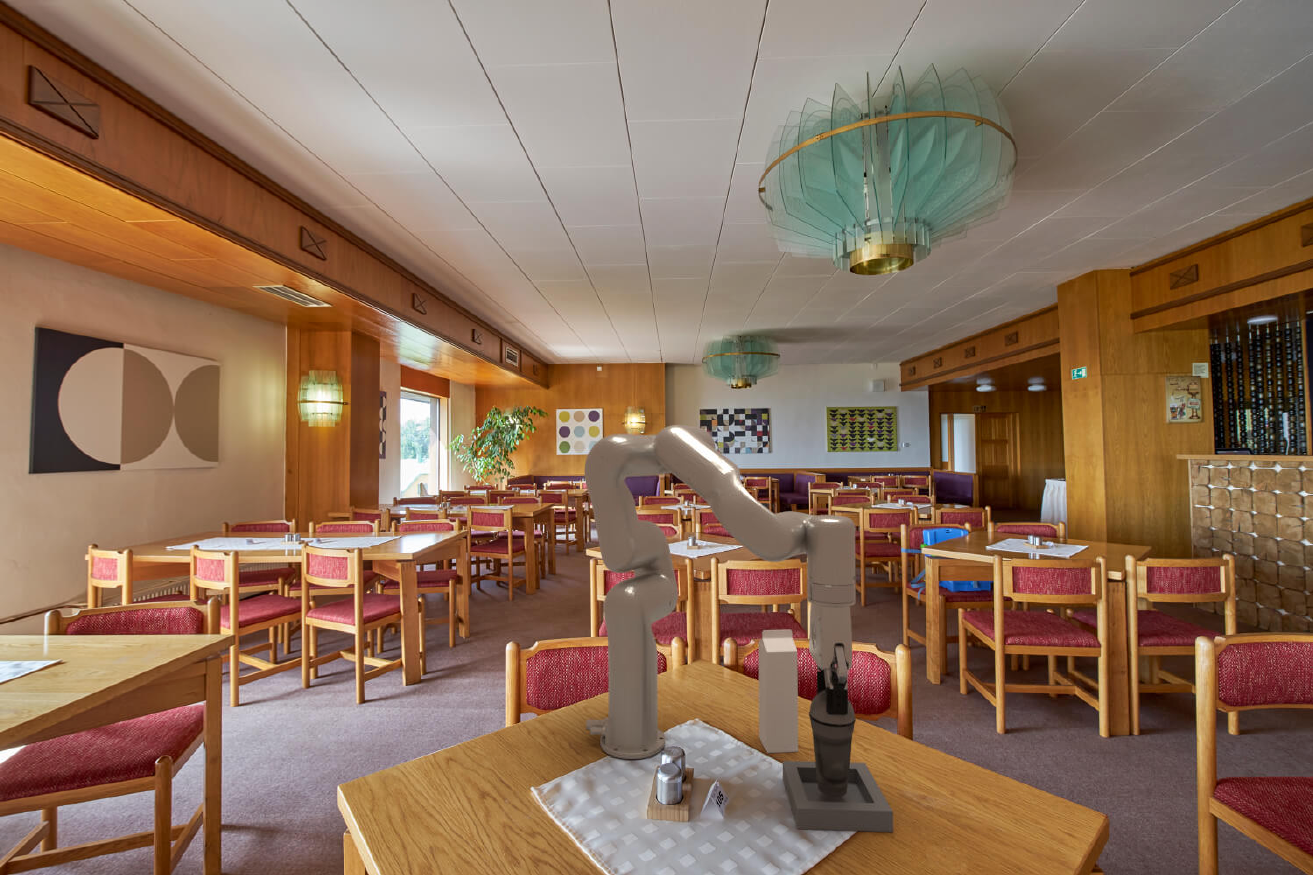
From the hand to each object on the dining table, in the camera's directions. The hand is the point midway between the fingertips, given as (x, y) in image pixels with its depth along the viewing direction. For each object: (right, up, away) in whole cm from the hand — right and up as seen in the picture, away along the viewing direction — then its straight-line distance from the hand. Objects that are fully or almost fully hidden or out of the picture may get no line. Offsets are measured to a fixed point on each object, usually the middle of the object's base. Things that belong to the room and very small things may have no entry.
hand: (831, 703), depth 96 cm
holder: (0, -16, -1) cm, 16 cm away
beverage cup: (0, -14, 0) cm, 14 cm away
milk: (-5, -17, +19) cm, 25 cm away
